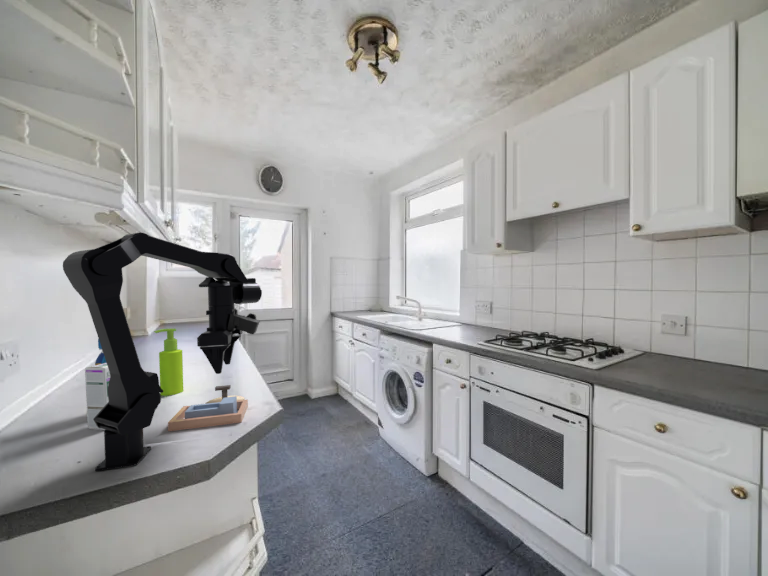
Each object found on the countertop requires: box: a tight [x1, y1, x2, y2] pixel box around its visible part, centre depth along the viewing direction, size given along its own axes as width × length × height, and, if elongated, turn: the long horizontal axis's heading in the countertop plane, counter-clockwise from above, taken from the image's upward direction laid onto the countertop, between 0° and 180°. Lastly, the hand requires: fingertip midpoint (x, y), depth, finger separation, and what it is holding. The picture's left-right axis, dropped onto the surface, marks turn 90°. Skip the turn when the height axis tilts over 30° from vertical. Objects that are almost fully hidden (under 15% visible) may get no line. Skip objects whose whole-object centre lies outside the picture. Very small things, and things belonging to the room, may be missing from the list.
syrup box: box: [84, 363, 110, 431], centre depth 77 cm, size 6×6×14 cm
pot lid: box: [204, 384, 246, 404], centre depth 89 cm, size 10×10×5 cm
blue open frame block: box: [184, 395, 238, 419], centre depth 78 cm, size 10×5×4 cm, turn 106°
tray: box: [167, 399, 249, 432], centre depth 78 cm, size 10×15×2 cm, turn 105°
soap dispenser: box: [153, 328, 184, 397], centre depth 98 cm, size 6×7×20 cm
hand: (223, 368), depth 80 cm, fingers open, 9 cm apart
